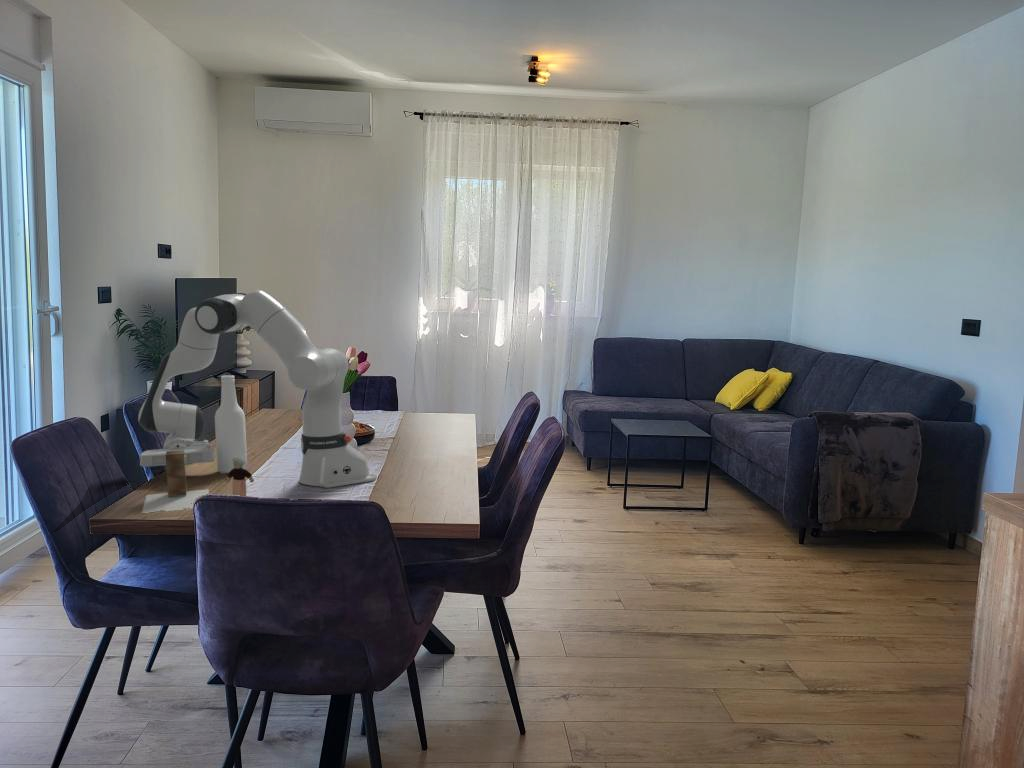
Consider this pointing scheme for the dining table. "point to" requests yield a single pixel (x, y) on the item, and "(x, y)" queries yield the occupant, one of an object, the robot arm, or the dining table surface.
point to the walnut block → (176, 473)
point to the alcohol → (229, 428)
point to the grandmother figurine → (239, 476)
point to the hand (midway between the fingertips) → (177, 462)
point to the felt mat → (171, 501)
